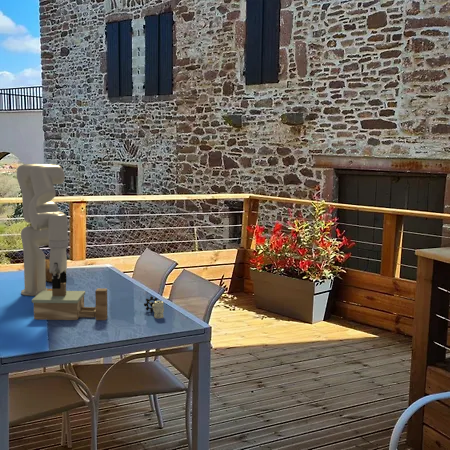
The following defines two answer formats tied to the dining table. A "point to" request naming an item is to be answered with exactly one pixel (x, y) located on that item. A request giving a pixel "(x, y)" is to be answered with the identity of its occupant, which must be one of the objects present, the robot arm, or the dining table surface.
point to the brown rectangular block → (101, 304)
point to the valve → (155, 307)
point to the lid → (59, 296)
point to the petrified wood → (48, 270)
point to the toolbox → (62, 311)
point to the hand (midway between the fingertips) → (59, 285)
